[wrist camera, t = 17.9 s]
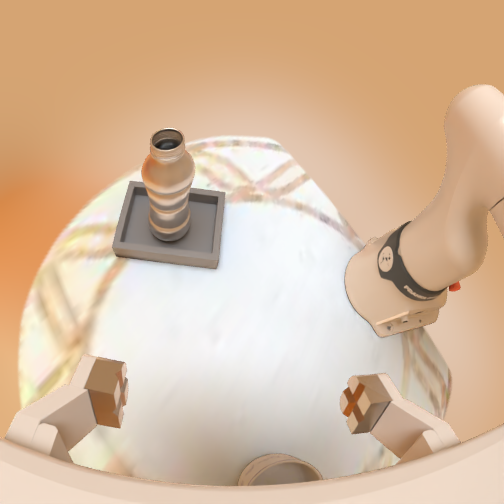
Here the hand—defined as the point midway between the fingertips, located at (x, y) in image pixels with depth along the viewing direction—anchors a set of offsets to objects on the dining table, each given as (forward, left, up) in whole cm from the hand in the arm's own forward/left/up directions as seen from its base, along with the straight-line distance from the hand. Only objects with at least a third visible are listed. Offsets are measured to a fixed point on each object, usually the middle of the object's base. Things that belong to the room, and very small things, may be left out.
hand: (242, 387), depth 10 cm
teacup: (-10, +17, -35) cm, 40 cm away
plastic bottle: (+7, -23, -34) cm, 41 cm away
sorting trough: (+7, -23, -34) cm, 42 cm away
